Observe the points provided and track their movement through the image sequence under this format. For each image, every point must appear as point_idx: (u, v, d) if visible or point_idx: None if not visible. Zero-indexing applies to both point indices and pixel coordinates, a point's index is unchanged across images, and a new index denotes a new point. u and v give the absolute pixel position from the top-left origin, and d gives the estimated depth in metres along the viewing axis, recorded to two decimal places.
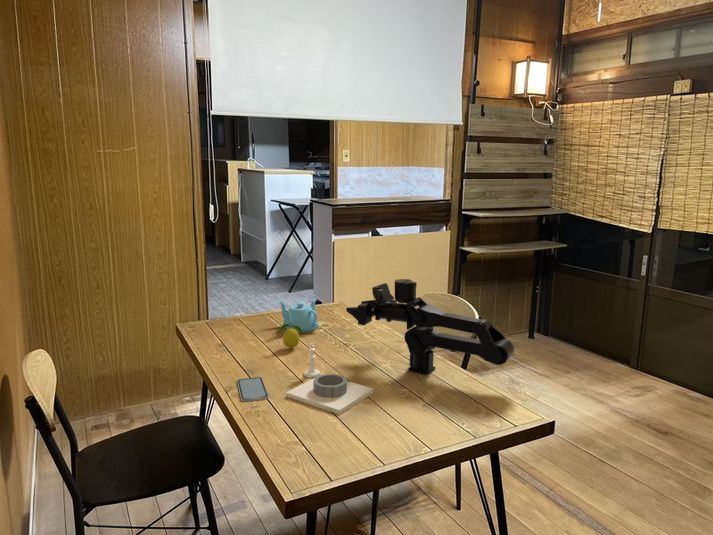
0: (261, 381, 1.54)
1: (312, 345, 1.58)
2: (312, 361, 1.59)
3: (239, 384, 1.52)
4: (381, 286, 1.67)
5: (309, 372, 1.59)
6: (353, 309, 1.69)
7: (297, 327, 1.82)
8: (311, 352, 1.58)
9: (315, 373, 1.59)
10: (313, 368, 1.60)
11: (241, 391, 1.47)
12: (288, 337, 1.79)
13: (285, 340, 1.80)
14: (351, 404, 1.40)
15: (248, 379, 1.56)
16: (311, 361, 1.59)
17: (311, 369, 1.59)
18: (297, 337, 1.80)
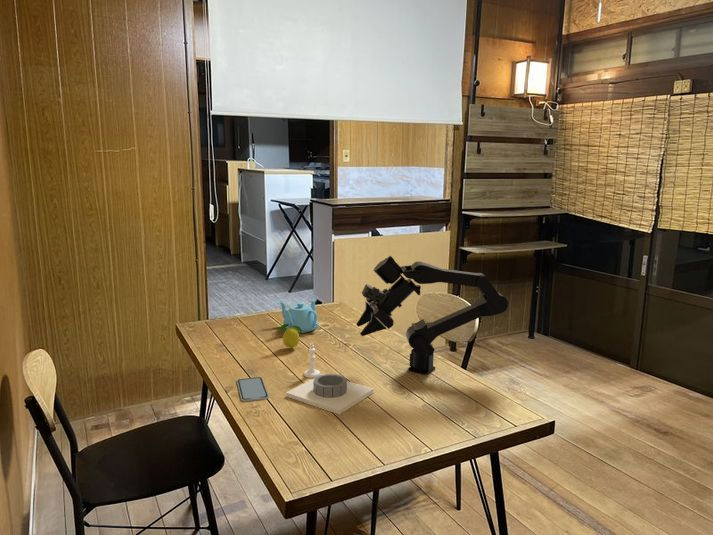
0: (261, 381, 1.54)
1: (312, 345, 1.58)
2: (312, 361, 1.59)
3: (239, 384, 1.52)
4: (369, 287, 1.57)
5: (309, 372, 1.59)
6: (368, 326, 1.55)
7: (297, 327, 1.82)
8: (311, 352, 1.58)
9: (315, 373, 1.59)
10: (313, 368, 1.60)
11: (241, 391, 1.47)
12: (288, 337, 1.79)
13: (285, 340, 1.80)
14: (351, 404, 1.40)
15: (248, 379, 1.56)
16: (311, 361, 1.59)
17: (311, 369, 1.59)
18: (297, 337, 1.80)
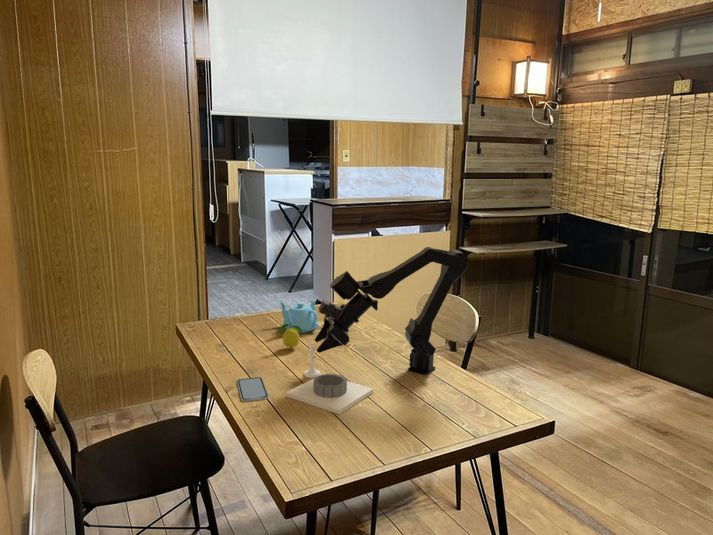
0: (261, 381, 1.54)
1: (312, 345, 1.58)
2: (312, 361, 1.59)
3: (239, 384, 1.52)
4: (325, 303, 1.55)
5: (309, 372, 1.59)
6: (324, 343, 1.53)
7: (297, 327, 1.82)
8: (311, 352, 1.58)
9: (315, 373, 1.59)
10: (313, 368, 1.60)
11: (241, 391, 1.47)
12: (288, 337, 1.79)
13: (285, 340, 1.80)
14: (351, 404, 1.40)
15: (248, 379, 1.56)
16: (311, 361, 1.59)
17: (311, 369, 1.59)
18: (297, 337, 1.80)
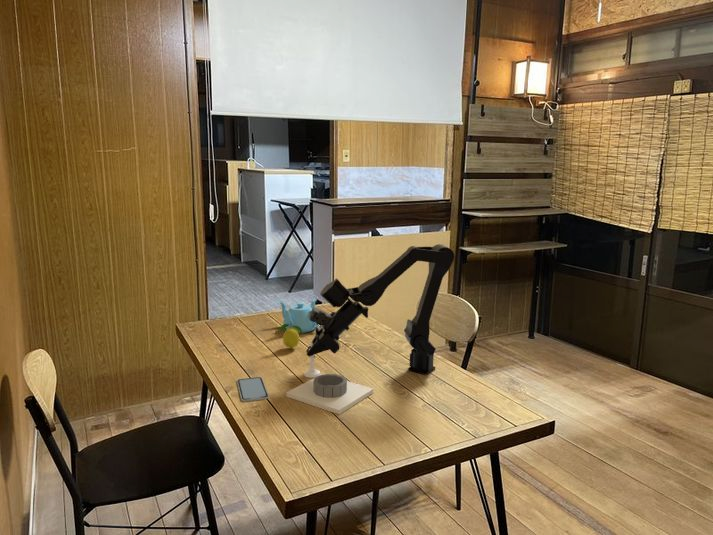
0: (261, 381, 1.54)
1: (312, 345, 1.58)
2: (312, 361, 1.59)
3: (239, 384, 1.52)
4: (315, 310, 1.55)
5: (309, 372, 1.59)
6: (314, 347, 1.57)
7: (297, 327, 1.82)
8: None
9: (315, 373, 1.59)
10: (313, 368, 1.60)
11: (241, 391, 1.47)
12: (288, 337, 1.79)
13: (285, 340, 1.80)
14: (351, 404, 1.40)
15: (248, 379, 1.56)
16: (311, 361, 1.59)
17: (311, 369, 1.59)
18: (297, 337, 1.80)
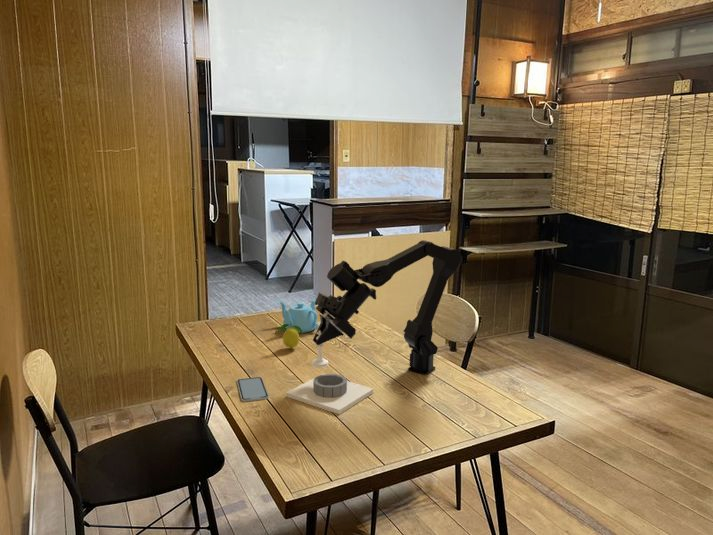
0: (261, 381, 1.55)
1: (320, 333, 1.49)
2: (320, 350, 1.50)
3: (239, 384, 1.52)
4: (324, 295, 1.46)
5: (318, 362, 1.50)
6: (324, 334, 1.47)
7: (297, 327, 1.82)
8: None
9: (324, 362, 1.50)
10: (321, 357, 1.50)
11: (241, 391, 1.47)
12: (288, 337, 1.79)
13: (285, 340, 1.80)
14: (351, 404, 1.40)
15: (248, 379, 1.56)
16: (319, 350, 1.50)
17: (319, 358, 1.50)
18: (297, 337, 1.80)
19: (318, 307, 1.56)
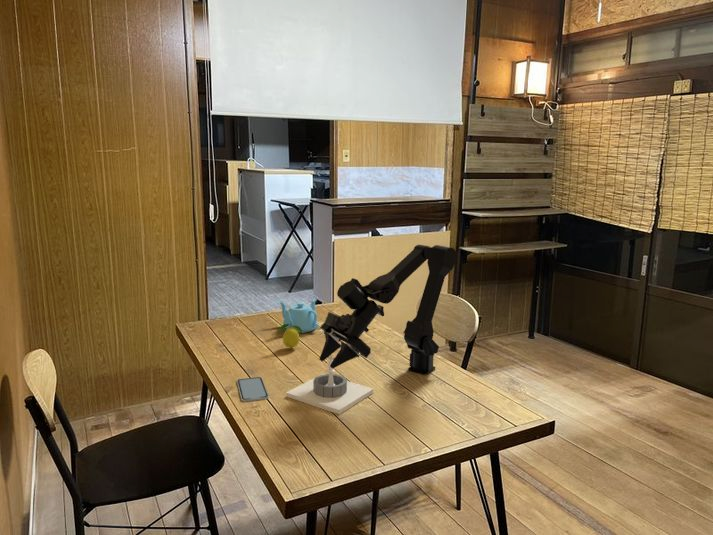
0: (261, 381, 1.55)
1: (332, 358, 1.45)
2: (331, 376, 1.46)
3: (239, 384, 1.52)
4: (336, 315, 1.42)
5: None
6: (340, 357, 1.41)
7: (297, 327, 1.82)
8: None
9: None
10: (333, 383, 1.46)
11: (241, 391, 1.47)
12: (288, 337, 1.79)
13: (285, 340, 1.80)
14: (351, 404, 1.40)
15: (248, 379, 1.56)
16: (330, 375, 1.46)
17: (331, 384, 1.46)
18: (297, 337, 1.80)
19: (323, 326, 1.51)
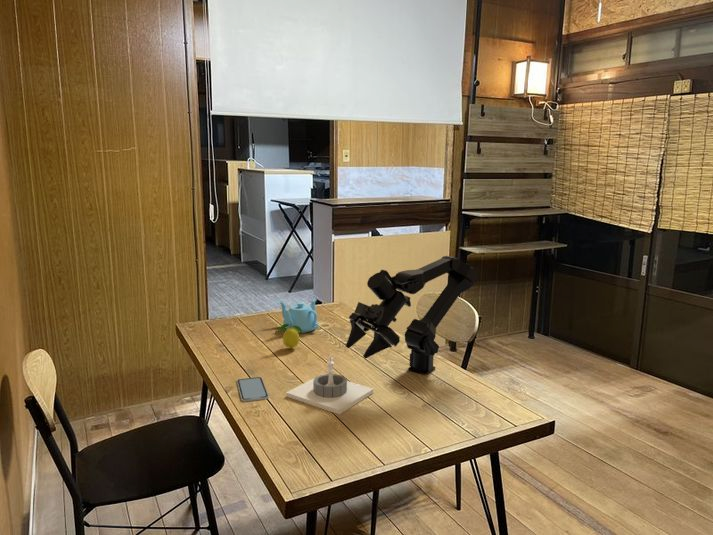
0: (261, 381, 1.55)
1: (331, 358, 1.45)
2: (331, 376, 1.46)
3: (239, 384, 1.52)
4: (366, 305, 1.46)
5: None
6: (373, 347, 1.45)
7: (297, 327, 1.82)
8: (331, 366, 1.45)
9: None
10: (333, 383, 1.46)
11: (241, 391, 1.47)
12: (288, 337, 1.79)
13: (285, 340, 1.80)
14: (351, 404, 1.40)
15: (248, 379, 1.56)
16: (330, 376, 1.46)
17: (331, 384, 1.46)
18: (297, 337, 1.80)
19: (352, 316, 1.56)
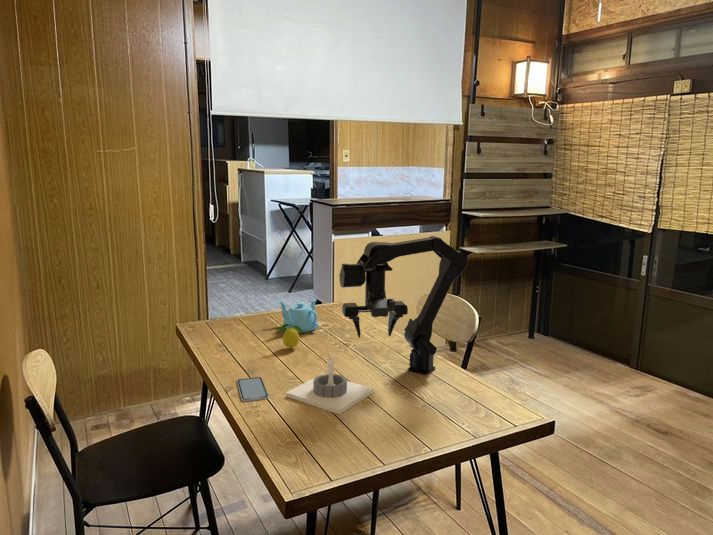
0: (261, 381, 1.55)
1: (331, 358, 1.45)
2: (331, 376, 1.46)
3: (239, 384, 1.52)
4: (385, 306, 1.49)
5: None
6: None
7: (297, 327, 1.82)
8: (331, 366, 1.45)
9: None
10: (333, 383, 1.46)
11: (241, 391, 1.47)
12: (288, 337, 1.79)
13: (285, 340, 1.80)
14: (351, 404, 1.40)
15: (248, 379, 1.56)
16: (330, 376, 1.46)
17: (331, 384, 1.46)
18: (297, 337, 1.80)
19: (351, 314, 1.53)
